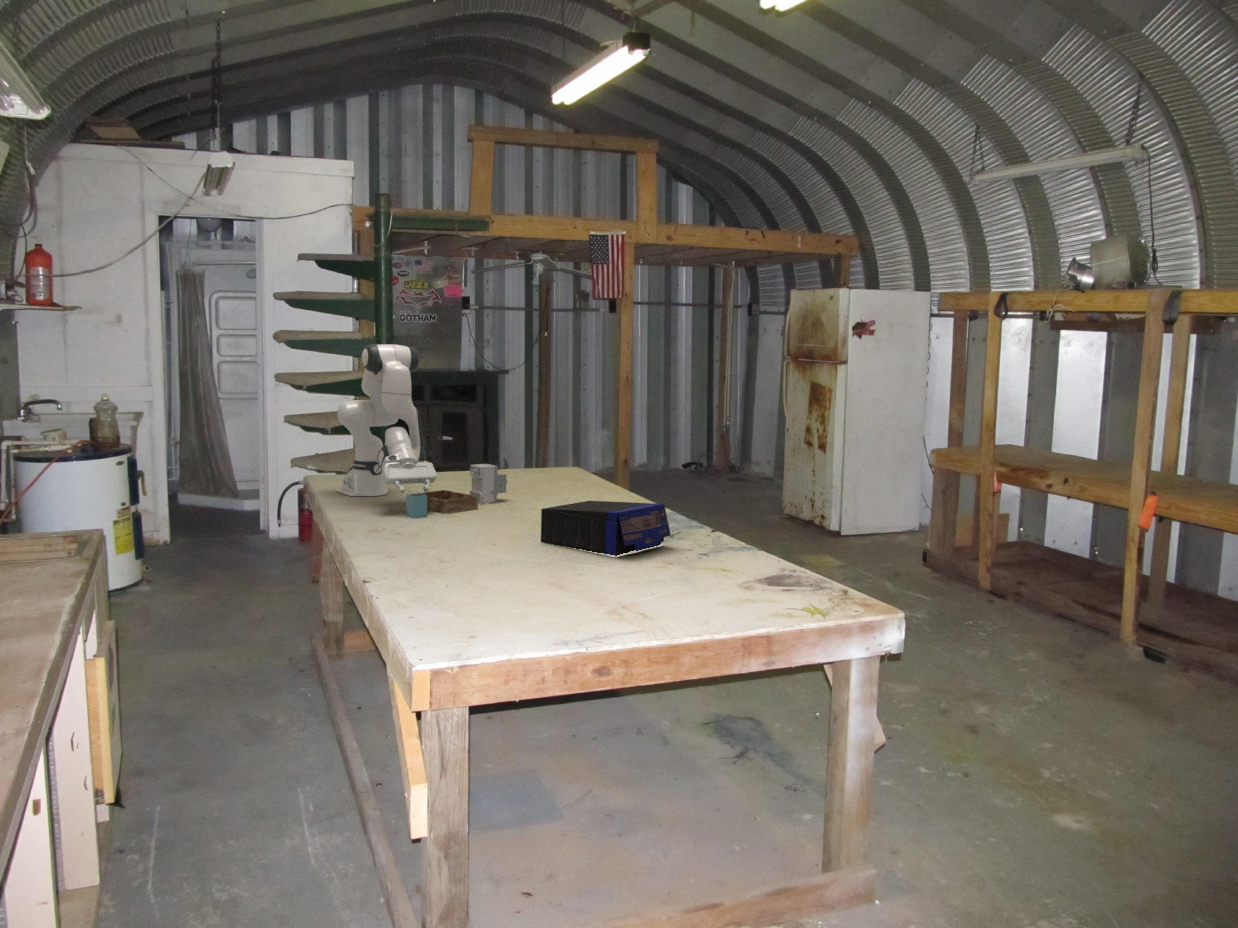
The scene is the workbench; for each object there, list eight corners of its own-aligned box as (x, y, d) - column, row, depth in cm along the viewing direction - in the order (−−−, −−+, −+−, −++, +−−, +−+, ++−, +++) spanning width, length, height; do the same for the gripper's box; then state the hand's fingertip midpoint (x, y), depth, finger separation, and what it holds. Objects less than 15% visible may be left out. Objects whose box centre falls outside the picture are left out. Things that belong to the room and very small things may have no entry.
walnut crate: (412, 506, 362) (412, 493, 362) (444, 502, 375) (444, 489, 374) (445, 513, 350) (445, 500, 349) (478, 508, 362) (478, 496, 361)
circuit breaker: (509, 501, 382) (509, 464, 380) (480, 504, 372) (480, 467, 370) (498, 498, 387) (498, 462, 385) (469, 501, 378) (469, 464, 376)
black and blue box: (623, 560, 285) (624, 514, 283) (540, 542, 306) (541, 499, 305) (671, 548, 304) (672, 505, 302) (589, 532, 325) (590, 491, 324)
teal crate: (406, 515, 344) (406, 494, 343) (421, 514, 347) (421, 493, 346) (412, 518, 339) (412, 496, 338) (426, 517, 342) (427, 495, 341)
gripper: (429, 466, 359) (438, 494, 352) (376, 468, 348) (385, 497, 341) (433, 455, 355) (443, 484, 348) (381, 457, 344) (390, 487, 337)
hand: (414, 491), depth 344 cm, fingers open, 8 cm apart
